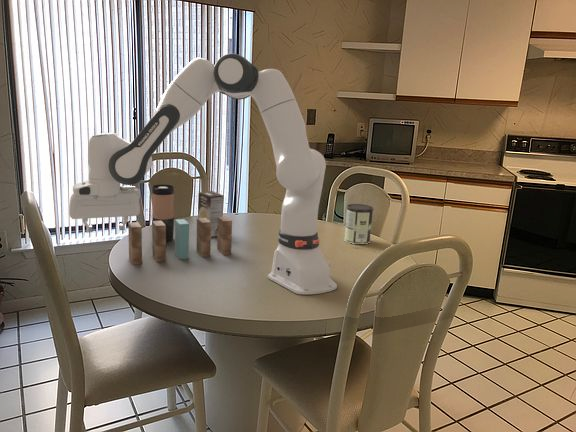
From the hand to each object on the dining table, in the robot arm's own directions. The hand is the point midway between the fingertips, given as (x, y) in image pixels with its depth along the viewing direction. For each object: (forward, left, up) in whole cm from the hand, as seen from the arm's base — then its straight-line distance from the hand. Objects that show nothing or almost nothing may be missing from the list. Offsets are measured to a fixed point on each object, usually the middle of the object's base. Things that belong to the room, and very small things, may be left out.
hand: (106, 230), depth 147 cm
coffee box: (+23, -41, -11) cm, 48 cm away
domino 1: (0, -16, -11) cm, 19 cm away
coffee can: (-3, -93, -11) cm, 94 cm away
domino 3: (0, -31, -11) cm, 33 cm away
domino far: (0, -9, -11) cm, 14 cm away
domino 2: (0, -24, -11) cm, 26 cm away
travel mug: (+20, -22, -11) cm, 32 cm away
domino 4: (0, -39, -11) cm, 40 cm away
